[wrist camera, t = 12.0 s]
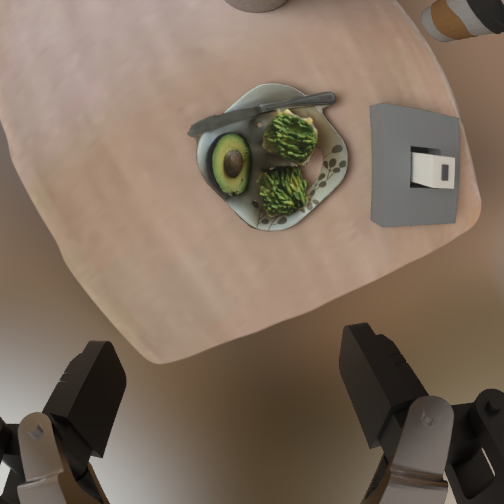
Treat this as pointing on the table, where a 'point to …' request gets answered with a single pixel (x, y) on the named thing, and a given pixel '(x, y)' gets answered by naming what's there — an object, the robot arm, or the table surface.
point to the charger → (432, 170)
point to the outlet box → (399, 165)
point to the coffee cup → (463, 19)
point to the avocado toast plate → (270, 154)
